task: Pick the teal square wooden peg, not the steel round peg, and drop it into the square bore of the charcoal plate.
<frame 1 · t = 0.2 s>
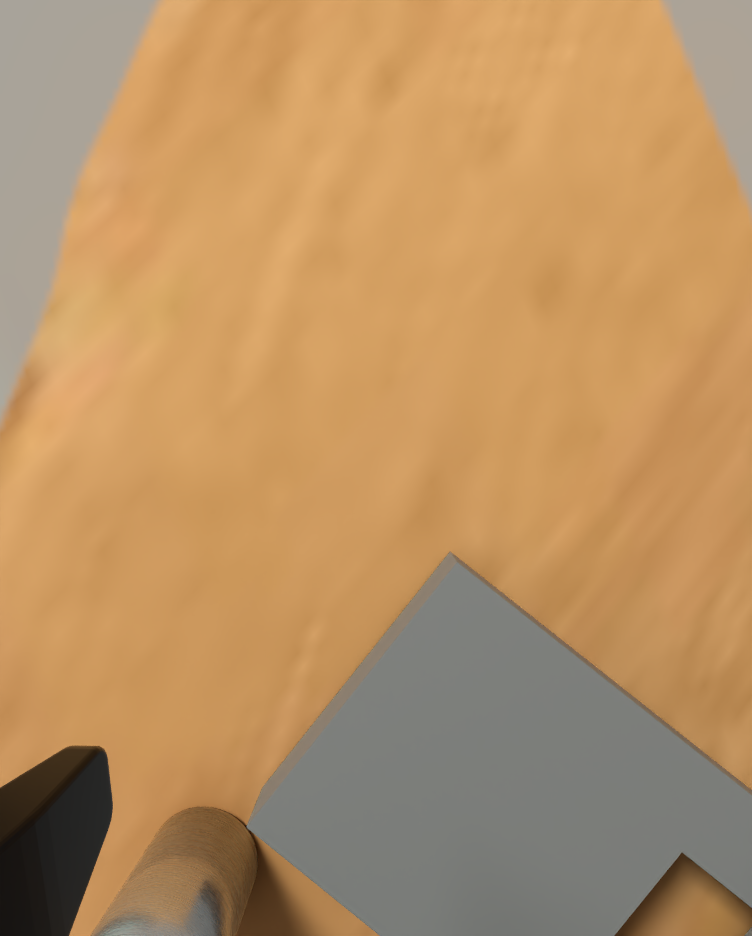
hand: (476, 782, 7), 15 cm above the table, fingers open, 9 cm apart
round peg: (203, 861, 23), on the table
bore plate: (573, 844, 22), on the table
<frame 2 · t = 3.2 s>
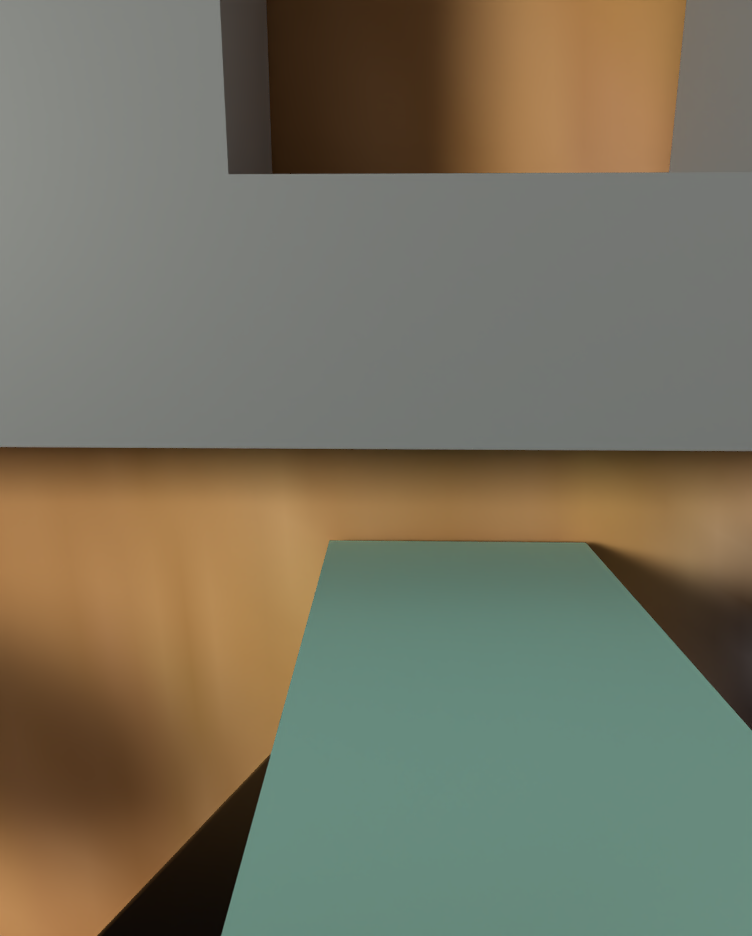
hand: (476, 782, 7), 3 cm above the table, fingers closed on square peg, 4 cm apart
square peg: (453, 656, 10), on the table, touching gripper
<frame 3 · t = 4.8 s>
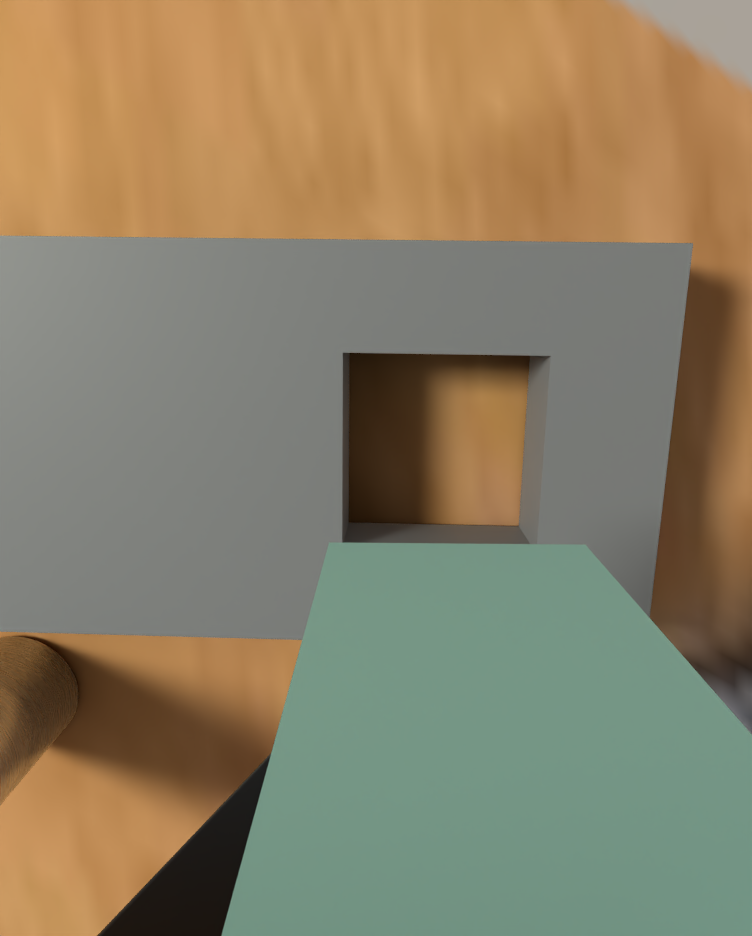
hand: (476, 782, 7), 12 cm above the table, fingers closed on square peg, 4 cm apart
round peg: (21, 689, 21), on the table
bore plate: (307, 438, 19), on the table
square peg: (452, 658, 10), point 10 cm above the table, touching gripper
when the fingers open (4 cm above the table, at t = 6.9 s): square peg drops 1 cm, resting in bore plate.
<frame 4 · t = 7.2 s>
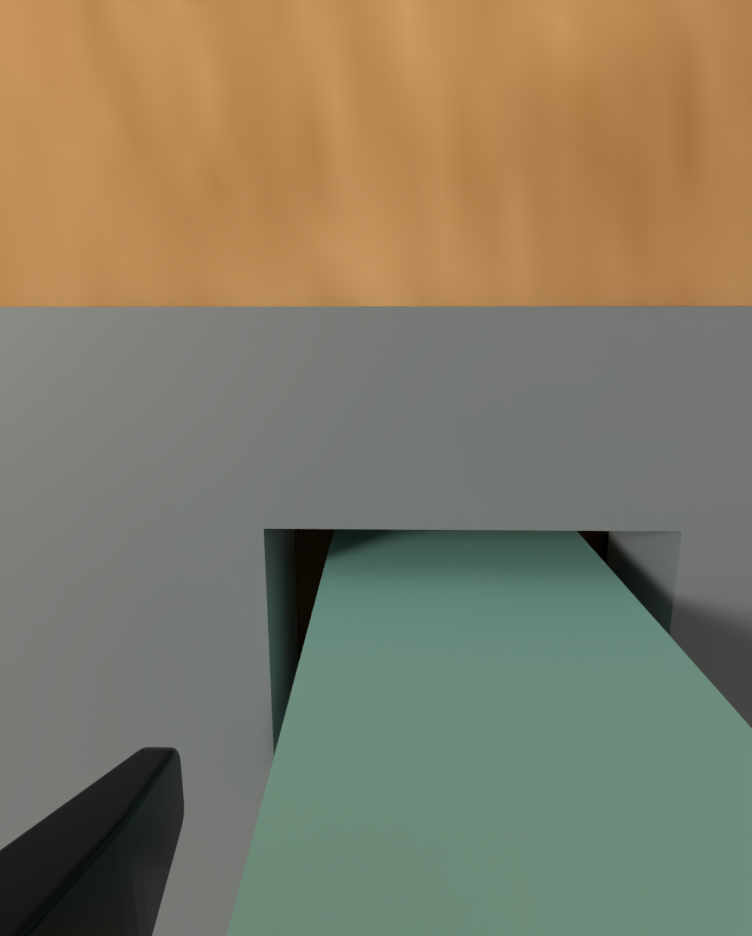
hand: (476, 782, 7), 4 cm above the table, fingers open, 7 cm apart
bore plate: (225, 625, 11), on the table
square peg: (448, 627, 11), resting in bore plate
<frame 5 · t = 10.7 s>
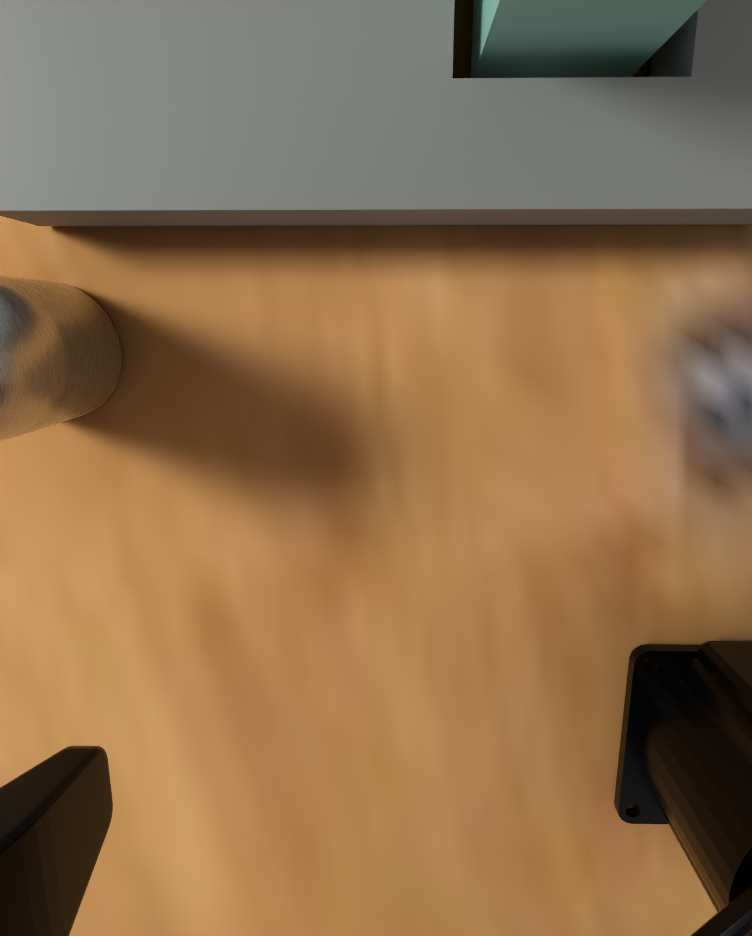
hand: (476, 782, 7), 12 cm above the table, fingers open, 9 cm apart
round peg: (54, 352, 18), on the table
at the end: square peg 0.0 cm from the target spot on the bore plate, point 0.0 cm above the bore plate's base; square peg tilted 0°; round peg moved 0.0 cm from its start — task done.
